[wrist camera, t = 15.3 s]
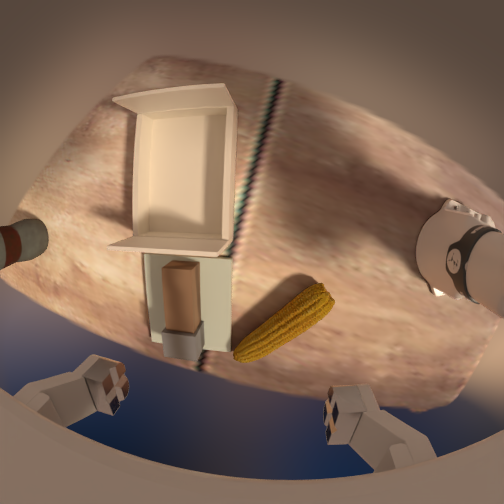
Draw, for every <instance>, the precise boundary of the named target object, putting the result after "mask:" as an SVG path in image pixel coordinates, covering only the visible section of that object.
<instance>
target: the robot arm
mask: <svg viewBox="0 0 504 504" xmlns="http://www.w3.org/2000/svg"><path fill="white" fill-rule="evenodd" d="M454 206H455V209H454ZM416 261H417V265H418V268H419V271H420V273H421V274H422V276H423V277H424V278H425V279H426V280H427V281H428V283H429V284H430V287H431V290H432V293H433V294H434V295H435V296H442V295H448V296H450V297H452V298H454V299H456V300H459V299H461V298H466V299H467V300H469V301H471V302H474V303H477V304H481V305H483V306H484V307H486V308H487V309H489V310H490V311H492V312H493V313H495V314H496V315H498V316H499V317H500V318H503V319H504V233H502V232H501V231H499V230H498V229H496V228H495V225H494V222H493V221H492V220H491V217H489V216H487V215H483V214H482V215H481V214H479V213H477V212H476V211H474V210H472V209H470V208H468V207H466V206H464V205H462V204H460V203H458V202H456V201H454V200H451V199H448V200H447V201H446V202H445V203H444V205H443V206H442V208H441V210H440V211H439V212H437V213H436V214H434V215H433V216H432V217H431V218H429V220H428V221H427V222H426V223H425V225H424V226H423V228H422V230H421V232H420V234H419V237H418V241H417V246H416ZM125 371H126V370H125V366H124V364H123V363H121V362H118V361H114V360H111V359H108V358H104V357H100V356H97V355H90V356H89V357H88V358H87V359H86V360H85V361H84V362H83V363H82V364H81V365H80V366H79V367H78V368H77V369H76V370H75V371H74V372H72V373H71V372H67V373H64V374H61V375H57V376H54V377H50V378H47V379H43V380H39V381H36V382H32V383H28V384H27V385H26V386H24V387H23V388H22V389H21V390H20V391H19V392H18V393H17V394H16V395H14V396H13V397H12V396H11V395H10V394H8V393H7V392H5V391H3V390H2V389H1V388H0V504H504V430H503V431H501V432H498V433H496V434H494V435H492V436H491V437H488V438H486V439H484V440H482V441H479V442H477V443H475V444H473V445H470V446H468V447H465V448H463V449H460V450H458V451H455V452H452V453H449V454H447V455H444V456H441V457H438V458H437V456H436V454H435V452H434V450H433V448H432V446H431V444H430V442H429V440H428V438H427V436H425V435H423V434H421V433H420V432H418V431H417V430H415V429H413V428H412V427H410V426H408V425H407V424H405V423H404V422H402V421H400V420H399V419H397V418H396V417H394V416H392V415H391V414H389V413H388V412H386V411H384V410H380V409H379V406H378V404H377V401H376V399H375V397H374V394H373V392H372V390H371V388H370V385H369V384H358V385H345V386H330V388H329V391H328V398H329V399H328V400H327V401H326V402H325V406H324V412H323V418H324V424H325V425H326V426H327V430H326V438H327V443H328V445H336V444H349V445H350V446H351V447H352V448H353V449H354V450H355V451H356V452H357V453H358V454H359V455H360V456H361V457H362V458H363V459H364V460H365V461H366V462H367V463H368V464H369V465H370V466H371V467H372V468H373V469H374V470H375V471H374V472H373V473H372V474H366V475H359V476H351V477H343V478H332V479H318V480H262V479H248V478H237V477H228V476H221V475H213V474H208V473H202V472H196V471H191V470H186V469H182V468H177V467H173V466H169V465H164V464H161V463H157V462H153V461H149V460H146V459H143V458H140V457H136V456H133V455H130V454H128V453H124V452H122V451H119V450H116V449H113V448H111V447H108V446H105V445H103V444H101V443H98V442H96V441H93V440H91V439H89V438H86V437H84V436H82V435H80V434H78V433H75V432H73V431H71V430H69V429H67V428H65V427H67V426H69V425H71V424H73V423H75V422H77V421H79V420H81V419H82V418H84V417H86V416H88V415H90V414H92V413H94V412H96V410H98V411H101V412H104V413H107V414H110V415H114V414H115V412H116V411H117V409H118V408H119V407H120V403H119V401H122V400H124V399H125V398H126V396H127V395H128V391H129V382H128V379H127V378H126V377H125V375H124V373H125Z"/></svg>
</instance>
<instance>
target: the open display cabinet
mask: <svg viewBox="0 0 504 504" xmlns="http://www.w3.org/2000/svg"><path fill="white" fill-rule="evenodd" d="M112 102H114V103H116V104H119V105H121V106H123V107H125V108H127V109H129V110H131V111H133V112H135V113H137V121H136V132H135V145H134V162H133V198H132V211H133V236H132V237H130V238H127V239H124V240H121V241H118V242H116V243H113V244H110V245H108V246H107V250H114V251H129V252H144V253H160V254H175V255H191V256H207V257H218V256H219V255H220V254H221V252H222V251H223V250H224V249H225V248H226V247H227V246H229V245H230V243H231V242H232V241H233V229H234V198H235V171H236V148H237V126H238V109H237V107H236V104H235V102H234V101H233V99H232V97H231V95H230V93H229V91H228V89H227V87H226V85H225V83H218V84H201V85H190V86H180V87H171V88H163V89H156V90H150V91H144V92H138V93H133V94H127V95H122V96H118V97H113V99H112Z"/></svg>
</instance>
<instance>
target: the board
mask: <svg viewBox="0 0 504 504" xmlns="http://www.w3.org/2000/svg"><path fill="white" fill-rule="evenodd" d="M172 260H177V261H192V262H200V297H201V321H204V338H205V345H204V347H203V349H206V350H215V351H224V352H231V334H232V269H233V258H228V257H207V256H191V255H175V254H160V253H145V254H144V265H145V280H146V292H147V303H148V313H149V321H150V330H151V337H152V342H158V343H162V335H161V332H162V331H163V329H164V328H165V327H166V325H165V314H164V302H163V287H162V269H161V268H162V267H163V266H165V265H166V264H168V263H169V262H171V261H172Z"/></svg>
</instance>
